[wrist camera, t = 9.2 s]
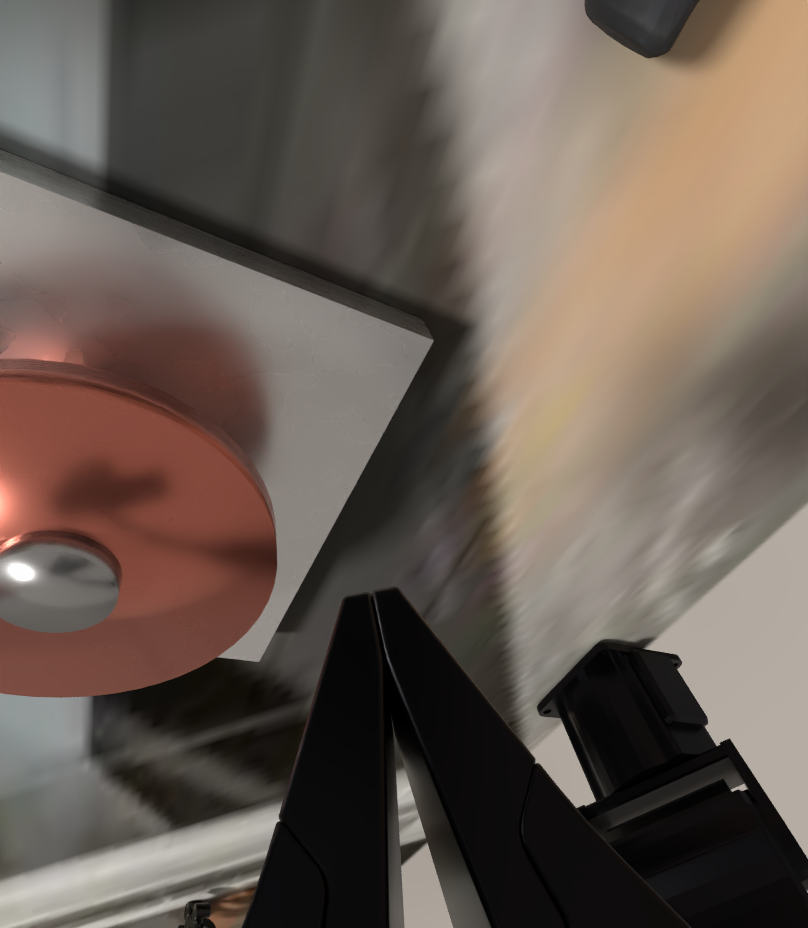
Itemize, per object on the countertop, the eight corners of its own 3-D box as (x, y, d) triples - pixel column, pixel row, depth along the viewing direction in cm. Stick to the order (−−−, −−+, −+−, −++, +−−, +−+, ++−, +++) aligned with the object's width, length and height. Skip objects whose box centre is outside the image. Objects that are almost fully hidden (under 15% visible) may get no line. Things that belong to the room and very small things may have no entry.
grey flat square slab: (258, 632, 27) (259, 716, 24) (-207, 570, 20) (-290, 674, 17) (422, 319, 19) (455, 382, 16) (-240, 53, 13) (-399, 72, 10)
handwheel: (172, 297, 13) (137, 433, 9) (323, 602, 20) (342, 755, 16) (-336, 447, 13) (-604, 654, 9) (-5, 702, 20) (-69, 882, 16)
